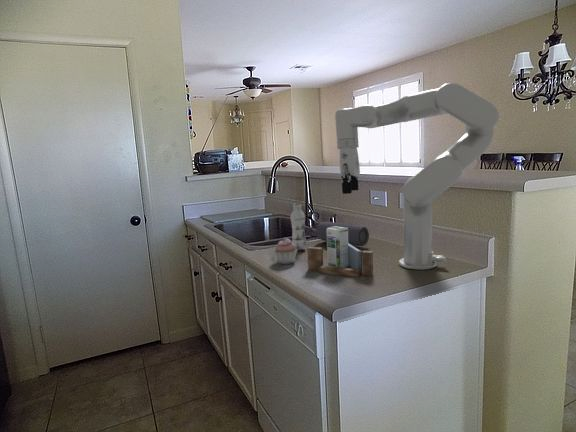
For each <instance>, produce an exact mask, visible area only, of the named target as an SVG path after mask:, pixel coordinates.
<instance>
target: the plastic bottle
mask: <svg viewBox="0 0 576 432" xmlns="http://www.w3.org/2000/svg"><path fill="white" fill-rule="evenodd" d="M292 209H293V210H292V211H291V213H290V217H289V218H290V222H291V229H292V230H291V231H292V233H291V234H292V236H291V242H292V243H294V245H295V248H296V249H298V251H303V250H306V248H307V239H306V233H305V221H306V215H305V213H304V211H303V210H302V203H293V204H292Z"/></svg>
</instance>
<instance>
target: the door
mask: <svg viewBox="0 0 576 432" xmlns="http://www.w3.org/2000/svg"><path fill="white" fill-rule="evenodd" d="M348 252H349V266H348V267H349V268H352V269H360V275H363V262H362V252H363V250H361V249H358V248H357V247H356V246H352V245H351V244H349V243H348Z"/></svg>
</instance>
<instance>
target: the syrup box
mask: <svg viewBox="0 0 576 432" xmlns="http://www.w3.org/2000/svg"><path fill="white" fill-rule="evenodd" d="M326 248H327V249H326V253H327V254H326V255H327V266H331V267H341V268H348V267H350V266H349V252H348V228H344V227H338V226H333V227H329V228H327V241H326Z"/></svg>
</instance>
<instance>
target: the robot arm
mask: <svg viewBox="0 0 576 432" xmlns="http://www.w3.org/2000/svg"><path fill="white" fill-rule="evenodd" d="M447 114H448V115H450V116H452V117H453V118H455V119H457V120H458V121H460V122H461V123H463V124H465V132H464V133H463V135H462V136H461V137H460V138H459V139H458V140H456V141H455V143H453V144H452V145H451V146H450V147H449V148H447V149H446V150H445V151H443V152H442V153H440V154H439V155H437V156H435V158H433V159H432V161H431V162H430V163H429V164H428V165H426V166H425V167H424V168H422V169H421V170H420V171H419V172H418V173H416V174H415V175H412V176H411V177H408V179H407V180H406V181H404V182H405V183H404V185H403V187H402V198H403V221H402V222H403V226H402V227H403V228H402V229H403V237H402V238H403V257H402V258H401V259H399V260H398V264H399V265H400V266H401V267H402V268H406V269H409V270H421V271H422V270H431V269H434V268H436V266H437V263H443V264H445V263H446V257H445V256H443V255H436V254H434V253H435V252H434V251H433V200H435V199H436V198H437V197H439V196H440V195H441V194H442V193H444V192H445V191H447V190H448V189H449V188H450V187H451V186H453V185H454V184H455V183H456V182H457V181H458V180H460V178H461V176H462V173H463V171H464V170H465V169H467V168H468V167H469V166H470V165H471V164H473V163H474V162H475V161H476V160H477V159H479V158H480V157H481V156H482V155H483V154H484V153H485V152H486V151H487V149H488V148H489V146H490V144H491V143H492V140H493V136H494V134H495V133H494V131H495V129H494V128H495V126H496V125H497V123H498V122H499V118H500V113H499V110H498V107H496V106H495V104H493V103H492V102H490V101H488V100H486V99H485V98H484V97H482V96H479V95H478V94H476V93H475V92H473V91H471V90H469V89H468V88H467V87H465V86H463V85H461V84H459V83H457V82H448V83H444V84H443V85H441V86H440V87H438V88H434V89H429V90H425V91H424V90H423V91H421V92H415V93H410V94H407V95H405V96H403V97H401V98H400V99H397V100H395V101H393V102H389V103H385V104H379V105H376V106H373V105H371V104H364V105H360V106H356V107H349V108H340V109H337V110H336V112H335V114H334V115H335V117H334V118H335V132H336V147H337V150H339V171H340V175H341V189H342V191H341V192H342V194H343V195H345V194H346V195H347V194H352V192H353V191H359V175H360V173H361V170H360V169H361V168H360V160H359V153H358V152H359V151H358V148H359V129H358V128H367V129H374V128H380V127H385V126H390V125H395V124H399V123H407V122H412V121H418V120H422V119H426V118H430V117H436V116H441V115H443V116H444V115H447Z"/></svg>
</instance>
